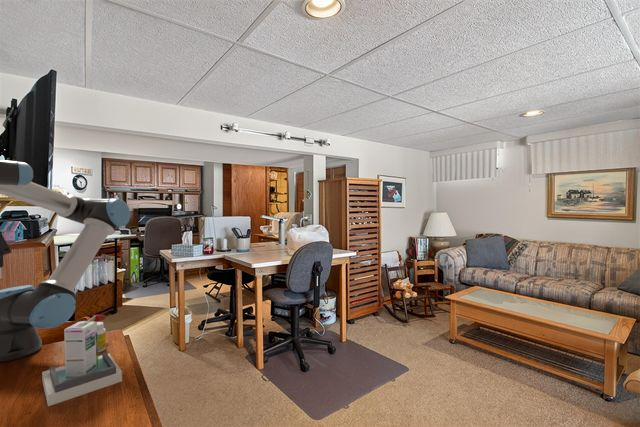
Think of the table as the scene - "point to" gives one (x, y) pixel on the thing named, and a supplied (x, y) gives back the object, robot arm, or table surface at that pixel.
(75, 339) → the syrup box
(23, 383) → the table surface
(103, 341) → the supplement bottle
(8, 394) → the table surface
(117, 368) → the dock
